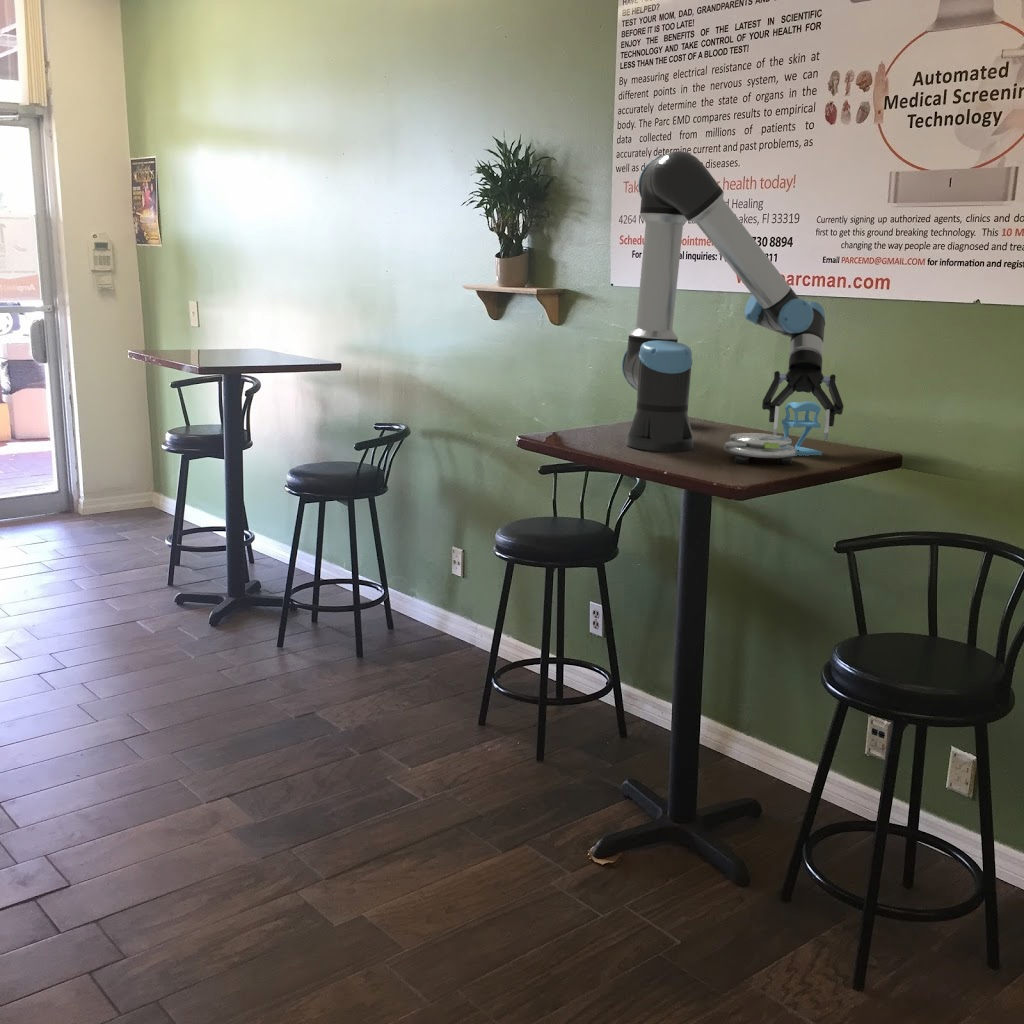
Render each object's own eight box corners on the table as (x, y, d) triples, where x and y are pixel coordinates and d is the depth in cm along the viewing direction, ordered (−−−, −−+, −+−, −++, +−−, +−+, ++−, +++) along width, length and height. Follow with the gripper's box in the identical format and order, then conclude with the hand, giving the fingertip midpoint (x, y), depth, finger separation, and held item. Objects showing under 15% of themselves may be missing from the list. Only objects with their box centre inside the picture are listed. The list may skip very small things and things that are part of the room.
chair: (806, 449, 246) (811, 398, 244) (822, 456, 238) (827, 402, 236) (774, 449, 245) (779, 397, 243) (789, 455, 237) (794, 402, 235)
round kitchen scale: (735, 466, 222) (737, 443, 221) (714, 453, 236) (716, 431, 235) (805, 467, 223) (807, 444, 222) (780, 454, 238) (782, 432, 237)
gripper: (854, 371, 250) (851, 448, 239) (755, 366, 255) (747, 440, 244) (858, 350, 243) (855, 428, 232) (756, 345, 249) (748, 420, 238)
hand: (800, 434), depth 238 cm, fingers open, 10 cm apart
